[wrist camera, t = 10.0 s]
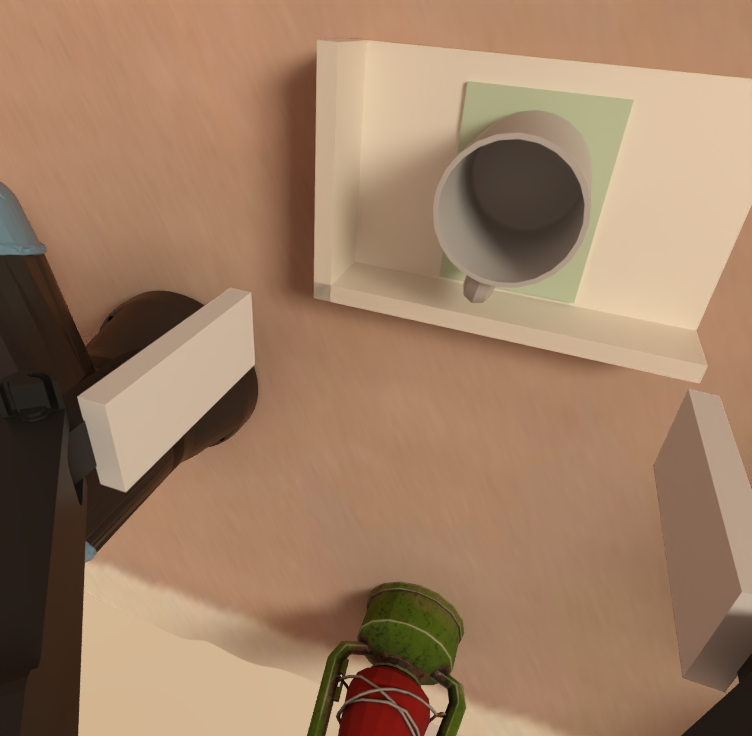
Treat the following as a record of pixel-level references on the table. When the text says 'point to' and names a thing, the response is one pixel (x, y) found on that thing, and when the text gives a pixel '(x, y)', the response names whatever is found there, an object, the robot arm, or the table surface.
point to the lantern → (395, 667)
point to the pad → (601, 134)
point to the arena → (615, 225)
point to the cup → (515, 203)
